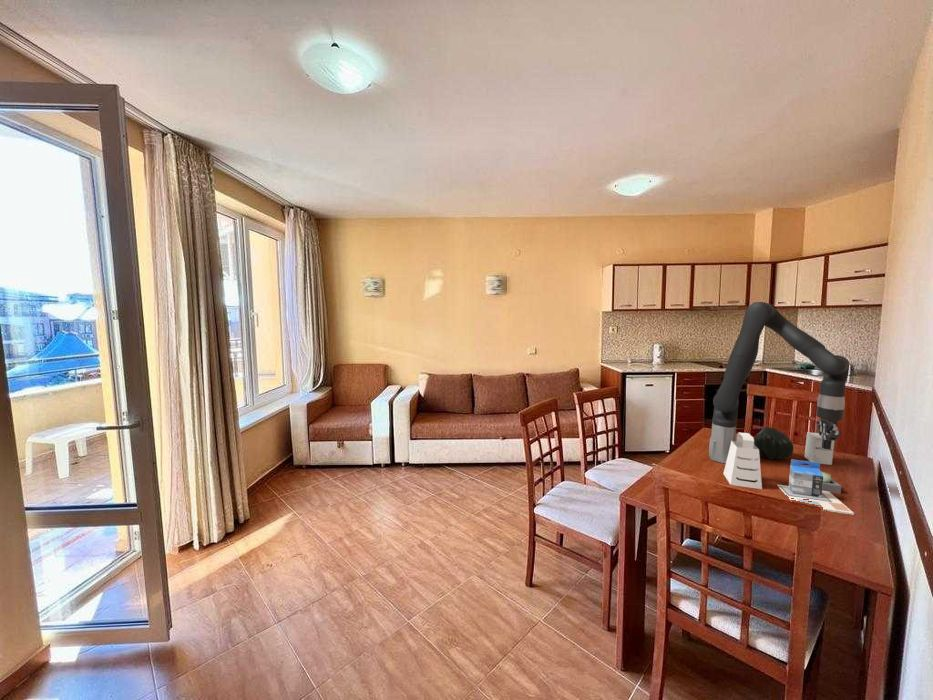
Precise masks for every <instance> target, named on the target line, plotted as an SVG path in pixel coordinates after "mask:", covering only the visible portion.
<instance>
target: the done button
mask: <svg viewBox="0 0 933 700" xmlns="http://www.w3.org/2000/svg"><path fill="white" fill-rule="evenodd" d="M821 473H822V475H823V483H830V480H831V478H832V475H831V474H830V473H828V472H825V471H821Z"/></svg>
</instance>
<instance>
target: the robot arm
mask: <svg viewBox="0 0 933 700" xmlns="http://www.w3.org/2000/svg"><path fill="white" fill-rule="evenodd" d="M765 327H766V328H768V329H770V330H772V331H773V332H775V333H776V334H778V335H779V337H780V338H782V339H783V340H784V341H785V342H786V343H787V344H789V346H791V348H793V349H794V350H796V351H797V352H798V353H800V354H801V355H803V356H804V357H806V358H807V359H809V361H810V362H811V363H813V365H815V366H816V367H817V368H818V369H819V370H820V371H822V372H823V377H822V379H821V381H820V384H819V391H818V393H819V394H818V397H817V402H816V414H815V415H816V417H818V418H819V421H816V422H815V424H816V428H817V431H818V432H817V433H819V435H820V436H821V438H822V448H824V449H828V450H830V449H831V442H832V441H835V442H836V441H837V439H839V437H840V436H841V435H842V430H839V429H838V427H839V424H838V422H840V421H842V420H844V415H845V406H846V405H845V404H846V403H845V402H846V401H845V400H846V399H845V395H846V384H847V379H848V375H849V371H850V361H849V360H848V359H847V358H846V357H845V356H843V355H839V354H837V355H836V354H834V353H833V352H831V351H829V350H828V349H827V348H826V346H825V345H824V344H823V343H822V342H821V341H819V340H817V339H816V338H814V337H813V336H811V335H810V334H809V333H807V332H805V330H803V329H801V328H799V327H798V326H797V325H795V324H793V323H792V322H790V321H789V320H788V319H787V318H785V317H784V316H783V314H781V313H780V312H779V311H778V310H777V308H775V307H774V305H772V304H771V303H767V302H762V301H757V302H754V303H752V304H750V305H749V306H748V307H747V308H746V309H745V313H744V316H743V320H742V325H741V328H740V331H739V334H738V336H737V338H736V340H735V343H734V345H733V347H732V349H731V352H730V355H729V358H728V360H727V364H726V367H725V371H724V375H723V380H722V382H721V384H720V386H719V388H718V391H716V394H715V395H714V396H713V399H712V402H713V403H712V404H713V406H714V407H713V415H712V421H711V423H712V424H711V435H710V436H709V445H708V446H709V448H708V457H709V458H710V460H711V461H713V462H714V461H715V462H716V463H717V462H718V463H721V464H726V461H727V457H728V453H729V449H730V445H731V441H736V436H737V424H738V423H737V422H738V413H739V396H740V393H741V390H742V387H743V385H744V383H745V381H746V380H747V378H748V377H749V375H750V373H751V371H752V369H753V367H754V366H755V362H756V360H757V357H758V353H759V346H760V338H761V335H762V332H763V330H764V328H765Z"/></svg>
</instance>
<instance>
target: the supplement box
mask: <svg viewBox="0 0 933 700" xmlns="http://www.w3.org/2000/svg"><path fill="white" fill-rule="evenodd" d="M805 439H806V440H805V448H804V449H805V450H804V458H805V459H807V461H808V462H816V463H820V465H828V466H829V465H830V466H831V465H833V457H834V449H835V448H834V447H835V442H836V441H832V442H831V449H830V450H828V449H824V448H822V438H821V436H820V435H819V432H810V431H807V432H806V438H805Z"/></svg>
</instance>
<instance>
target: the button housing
mask: <svg viewBox="0 0 933 700" xmlns="http://www.w3.org/2000/svg"><path fill="white" fill-rule="evenodd" d="M822 491H829V492H830V493H835V494H841V493H842V485H841V484H840V483H838V482H837V481H835V479H833V478H832V477H831V480H830V483H823V487H822Z"/></svg>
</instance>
